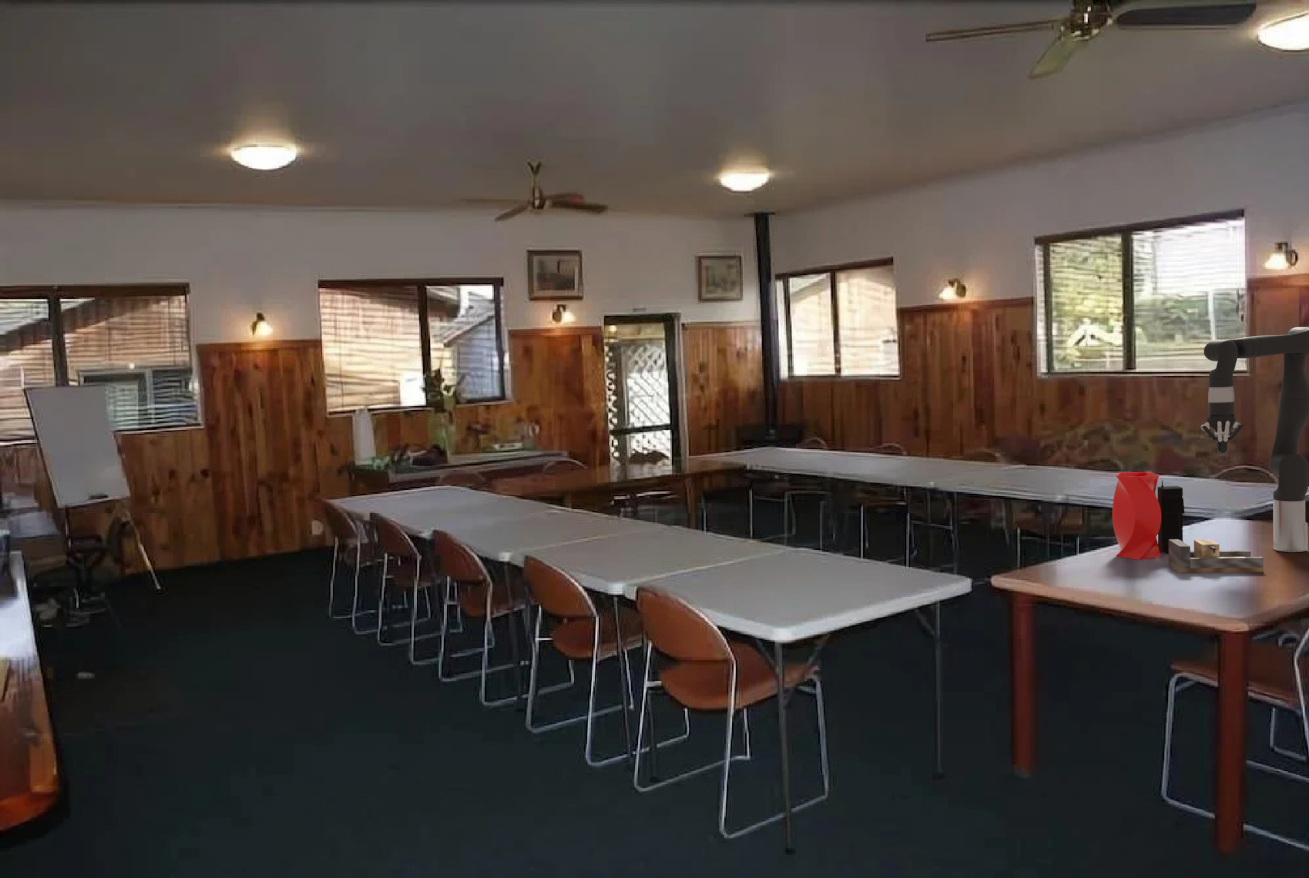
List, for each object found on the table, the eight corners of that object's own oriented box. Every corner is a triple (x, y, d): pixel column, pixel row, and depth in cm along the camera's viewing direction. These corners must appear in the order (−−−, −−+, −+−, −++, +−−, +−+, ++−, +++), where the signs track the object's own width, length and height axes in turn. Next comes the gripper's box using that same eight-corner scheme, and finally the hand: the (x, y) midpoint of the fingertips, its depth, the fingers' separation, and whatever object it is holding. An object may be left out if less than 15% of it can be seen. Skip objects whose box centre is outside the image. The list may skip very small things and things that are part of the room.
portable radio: (1180, 549, 363) (1179, 478, 361) (1187, 553, 357) (1186, 480, 355) (1156, 550, 364) (1155, 479, 362) (1163, 553, 358) (1162, 481, 356)
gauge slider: (1210, 560, 336) (1210, 539, 335) (1223, 567, 324) (1223, 546, 324) (1194, 560, 337) (1193, 539, 336) (1205, 568, 325) (1205, 546, 325)
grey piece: (1249, 564, 335) (1248, 538, 335) (1263, 572, 324) (1263, 545, 323) (1168, 565, 340) (1168, 539, 339) (1180, 573, 328) (1179, 546, 328)
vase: (1164, 559, 349) (1163, 476, 347) (1118, 559, 352) (1116, 477, 350) (1152, 550, 364) (1151, 471, 362) (1108, 551, 367) (1106, 472, 364)
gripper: (1239, 399, 346) (1239, 451, 348) (1196, 400, 349) (1196, 452, 350) (1247, 400, 339) (1247, 453, 340) (1203, 402, 341) (1203, 454, 343)
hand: (1221, 452), depth 345 cm, fingers closed
